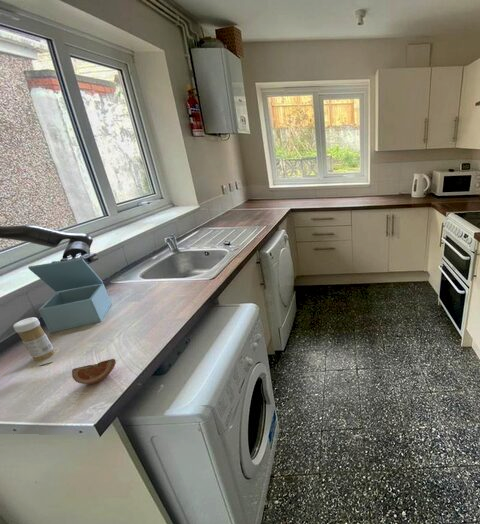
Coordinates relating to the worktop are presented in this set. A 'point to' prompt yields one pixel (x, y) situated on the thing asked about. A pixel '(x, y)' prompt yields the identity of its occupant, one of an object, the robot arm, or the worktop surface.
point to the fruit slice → (93, 372)
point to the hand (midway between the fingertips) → (74, 267)
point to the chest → (75, 307)
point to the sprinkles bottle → (34, 339)
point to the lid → (66, 274)
